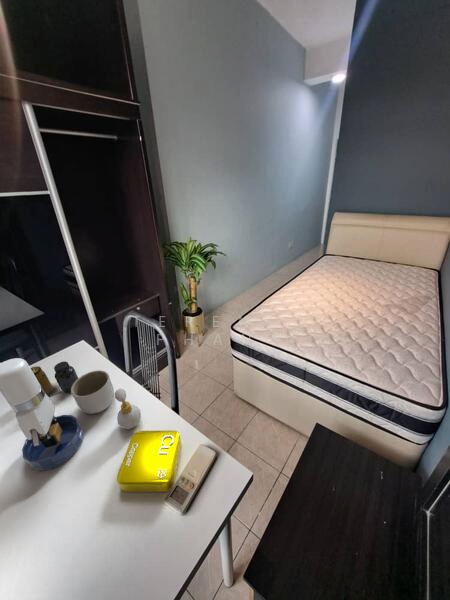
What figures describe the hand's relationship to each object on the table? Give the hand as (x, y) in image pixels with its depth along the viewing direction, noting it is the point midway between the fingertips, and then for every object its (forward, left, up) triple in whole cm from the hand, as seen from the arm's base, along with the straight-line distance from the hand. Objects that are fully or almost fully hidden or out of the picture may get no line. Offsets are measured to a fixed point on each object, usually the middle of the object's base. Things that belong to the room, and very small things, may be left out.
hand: (53, 437), depth 77 cm
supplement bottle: (-1, +26, -4) cm, 26 cm away
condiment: (-10, +27, -4) cm, 29 cm away
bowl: (0, 0, -4) cm, 4 cm away
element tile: (+29, -16, -4) cm, 33 cm away
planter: (+11, +13, -4) cm, 17 cm away
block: (0, 0, 0) cm, 0 cm away
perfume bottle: (+22, +1, -4) cm, 22 cm away
